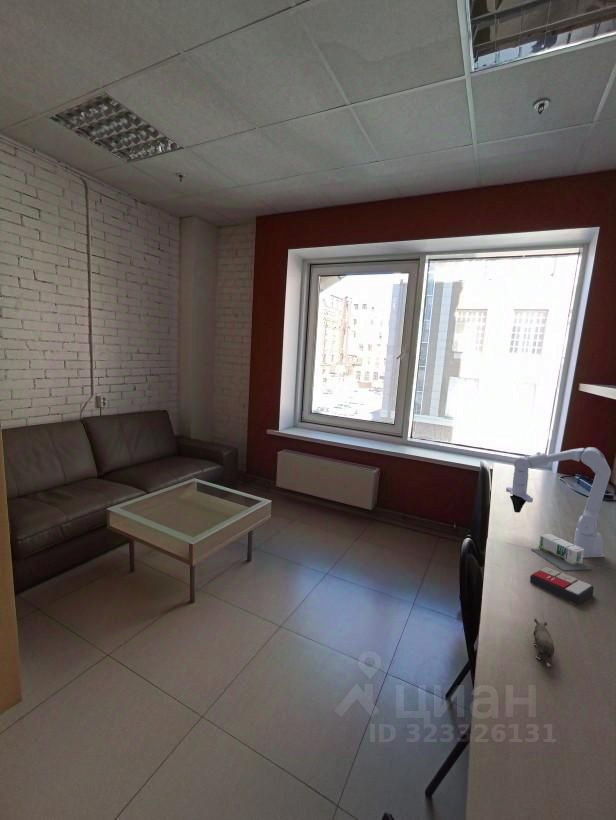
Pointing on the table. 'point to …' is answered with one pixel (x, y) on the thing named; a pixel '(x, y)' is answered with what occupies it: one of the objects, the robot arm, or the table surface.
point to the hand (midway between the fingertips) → (517, 511)
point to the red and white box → (562, 585)
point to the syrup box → (561, 549)
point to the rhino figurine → (543, 641)
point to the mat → (560, 561)
